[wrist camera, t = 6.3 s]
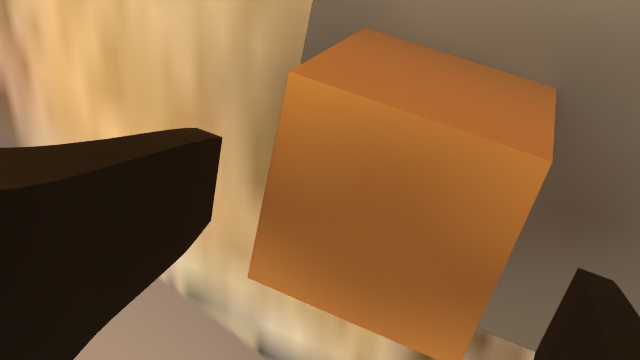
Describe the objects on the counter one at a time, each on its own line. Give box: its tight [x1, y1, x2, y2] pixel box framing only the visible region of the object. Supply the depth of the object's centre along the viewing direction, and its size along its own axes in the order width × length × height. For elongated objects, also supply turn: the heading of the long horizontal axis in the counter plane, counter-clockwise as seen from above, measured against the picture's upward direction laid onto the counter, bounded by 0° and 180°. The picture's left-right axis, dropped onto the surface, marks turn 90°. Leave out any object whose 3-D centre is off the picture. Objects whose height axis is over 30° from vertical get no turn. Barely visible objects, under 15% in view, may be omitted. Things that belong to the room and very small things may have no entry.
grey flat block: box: [301, 0, 640, 352], centre depth 15 cm, size 14×10×5 cm
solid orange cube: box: [247, 28, 557, 360], centre depth 14 cm, size 5×5×5 cm
